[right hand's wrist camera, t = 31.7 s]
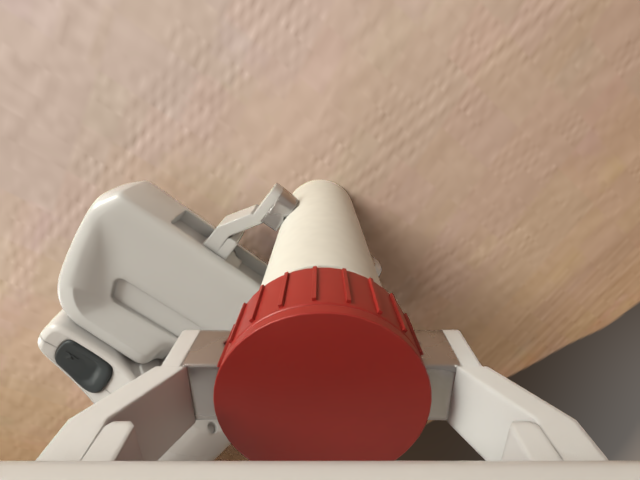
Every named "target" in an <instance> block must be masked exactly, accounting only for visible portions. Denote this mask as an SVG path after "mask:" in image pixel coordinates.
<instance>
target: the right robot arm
mask: <svg viewBox="0 0 640 480" xmlns="http://www.w3.org/2000/svg"><path fill="white" fill-rule="evenodd" d="M230 332H231V330H184V331H182V333H181V334H180V336H179V338H178V339H177V341H176V342H175V344H174V346H173V347H172V349H171V351H170V352H169V354H168V355H167V357H166V359H165V360H164V362H163V364H162V365H161V366H156V367H154V368H152V369H151V370H149V371H147V372H146V373H144V374H142V375H141V376H139V377H137V378H136V379H134V380H133V381H131V382H129V383H128V384H126V385H124V386H123V387H121V388H119V389H118V390H116V391H114V392H113V393H111V394H110V395H108V396H106V397H105V398H103V399H101V400H100V401H98V402H96V403H95V404H93V405H91V406H90V407H88V408H87V409H85V410H83V411H82V412H80V413H78V414H77V415H75V416H73V417H72V418H70V419H68V421H67V422H66V423H65V424H64V426H63V427H62V428H61V429H60V431H59V432H58V433H57V434H56V436H55V437H54V438H53V439H52V441H51V442H50V443H49V444H48V446H47V447H46V448H45V449H44V451H43V452H42V453H41V454H40V456H39V457H38V458H37V459H36V460H35V461H0V480H640V461H609V460H608V459H607V458H606V456H605V455H604V454H603V453H602V451H601V450H600V449H599V448H598V446H597V445H596V444H595V443H594V442H593V440H592V439H591V438H590V437H589V435H588V434H587V433H586V432H585V430H584V429H583V428H582V427H581V425H580V424H579V423H578V422H577V421H576V420H575V419H573V418H572V417H570V416H569V415H567V414H565V413H564V412H562V411H560V410H559V409H557V408H555V407H554V406H552V405H550V404H549V403H547V402H545V401H544V400H542V399H540V398H539V397H537V396H535V395H534V394H532V393H531V392H529V391H527V390H526V389H524V388H522V387H521V386H519V385H517V384H516V383H514V382H512V381H511V380H509V379H507V378H506V377H504V376H502V375H501V374H499V373H498V372H496V371H494V370H493V369H491V368H489V367H488V366H482V365H481V364H480V362H479V360H478V359H477V357H476V356H475V354H474V352H473V351H472V349H471V348H470V346H469V345H468V343H467V341H466V340H465V338H464V337H463V335H462V333H461V332H460V331H459V330H457V329H455V330H434V331H414V332H415V335H416V337H417V339H418V342H419V344H420V346H421V349H422V351H423V353H424V355H421V358H422V360H423V362H424V365H425V367H426V370H427V373H428V375H429V378H430V383H431V389H432V402H431V409H430V414H429V417H428V420H447V422H448V423H449V424H450V425H451V426H452V427H453V428H454V429H455V430H456V431H457V432H458V433H459V434H460V435H461V436H462V437H463V438H464V439H465V440H466V441H467V442H468V443H469V444H470V445H471V446H472V447H473V448H474V449H475V450H476V451H477V452H478V453H479V454H480V455H481V456H482V457H483V458H484V459H485V460H486V461H158V460H159V459H160V458H161V457H162V456H163V455H164V454H165V453H166V452H167V451H168V450H169V449H170V448H171V447H172V446H173V445H174V444H175V443H176V442H177V441H178V440H179V439H180V438H181V437H182V436H183V435H184V433H185V432H186V431H187V430H188V429H189V428H190V427H191V426H192V425H193V424H194V423H195V422H196V420H217V417H216V413H215V409H214V401H213V394H214V384H215V380H216V376H217V373H218V371H219V367H217V365H218V362H219V360H220V357H221V355H222V352H223V350H224V347H225V345H226V342H227V340H228V337H229V335H230Z"/></svg>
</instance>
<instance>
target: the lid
mask: <svg viewBox="0 0 640 480" xmlns="http://www.w3.org/2000/svg"><path fill="white" fill-rule="evenodd" d="M421 355H424V353H423V351H422V349H421V346H420V344H419V342H418V339H417V337H416V335H415V332H414V330H413V327H412V325H411V323H410V320H409V318H408V316H407V313H405V314H403V312H402V310H401V308H400V306H399V305H398V304H397V302H396V299H395V297H394V295H393V294H392V293H391V294H389V293H388V292H387V291H386V290H385V289H384V288H382V287H381V286H379V285H378V284H377V283H375V282H374V281H373V279H372V278H371V277H369V279H368V278H366V277H364V276H362V275H359V274H356V273H354V272H350V271H347V270H346V268H342V269H336V268H317V266H313V268H309V269H302V270H298V271H294V272H291V273H289V272H285V273H284V275H283V276H280V277H278V278H276V279H275V280H273V281H271V282H269V283H268V284H266V285H265V286H264V285H261V286H260V289H259V291H258V292H256V293H255V294H254V295H253V296H252V298H251V299H250V300H249V301H248V303H247V304H246V303H244V304H243V305H242V308H241V310H240V313H239V315H238V318H237V320H236V323H235V324H234V325H233V327H232V330H231V332H230V335H229V337H228V340H227V342H226V345H225V347H224V350H223V352H222V355H221V357H220V360H219V362H218V365H217V367H219V371H218V373H217V376H216V380H215V384H214V394H213V401H214V409H215V413H216V417H217V420H218V423H219V425H220V427H221V429H222V431H223V433H224V434H225V436H226V437H227V439H228V440H229V442H230V443H231V444H232V445H233V446H234V447H235V448H236V449H237V450H238V451H239V452H240V453H241V454H242V455H243V456H245V457H246V458H247V459H249V460H250V461H395V460H396V459H398V458H399V457H400V456H401V455H402V454H404V453H405V452H406V451H407V450H408V449H409V448H410V447H411V446H412V445H413V444H414V443H415V441H416V440H417V439H418V437H419V436H420V434H421V433H422V431H423V429H424V427H425V425H426V423H427V420H428V417H429V414H430V409H431V402H432V389H431V383H430V378H429V375H428V373H427V370H426V367H425V365H424V362H423V360H422V358H421Z"/></svg>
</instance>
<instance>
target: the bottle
mask: <svg viewBox="0 0 640 480" xmlns="http://www.w3.org/2000/svg"><path fill="white" fill-rule="evenodd" d="M292 195H293V196H295V197H296V198H297V199H298V201H297V205H296V207H295V208H294V210H293V211H292V212H291V213H290V214H289V215H288V216H286V217H285V218H284V221H283V223H282V225H281V226H280V230H279V233H278V236H277V239H276V242H275V245H274V248H273V251H272V254H271V257H270V260H269V263H268V266H267V269H266V272H265V275H264V278H263V281H262V284H261V285H264V286H265V285H266V284H268V283H269V282H271V281H273V280H275V279H276V278H278V277H280V276H283V275H284V273H285V272H289V273H291V272H294V271H298V270H302V269H309V268H313V266H317V268H336V269H342V268H346V270H347V271H350V272H354V273H356V274H359V275H362V276H364V277H366V278H368V279H369V277H371V278H372V279H373V281H374V282H375V283H377V284H378V285H379V286H381V287H382V285H381V283H380V280H379V277H378V274H377V271H376V268H375V266H374V263H373V260H372V257H371V254H370V252H369V249H368V246H367V243H366V240H365V237H364V235H363V232H362V229H361V226H360V223H359V221H358V218H357V215H356V212H355V209H354V206H353V204H352V201H351V198H350V197H349V195H348V193H347V192H346V191H345V190H344V189H343V188H342V187H341V186H339V185H338V184H336V183H334V182H332V181H328V180H312V181H309V182H307V183H304V184H303V185H301V186H300V187H298V188H297V189H296V190H295V191H294V193H293V194H292Z"/></svg>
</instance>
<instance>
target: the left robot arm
mask: <svg viewBox="0 0 640 480" xmlns="http://www.w3.org/2000/svg"><path fill="white" fill-rule="evenodd" d="M297 201H298V199H297V198H296V197H295V196H293V195H292V194H291V193H290V192H288V191H287V190H286V189H285V188H284V187H282V186H281V185H280V184H278V183H276V184H275V185H274V186H273V188H272V189H271V190H270V192H269V193H268V194H267V196H266V197H265V198H264V199H263V201H262V202H261V203H260V205H259V206H258V205H254V206H251V207H248V208H246V209H243V210H240V211H238V212H235V213H232V214H230V215H227V216H226V217H225V218H224V219H223V220H222V221H221V222H220V224H219V225H218V226H217V227H214V226H213V225H211V224H210V223H209V222H207V221H206V220H204V219H203V218H201V217H200V216H199V215H197V214H196V213H194V212H193V211H192V210H190V209H189V208H187V207H186V206H184V205H183V204H182V203H180V202H179V201H177V200H176V199H175V198H173V197H172V196H170V195H169V194H167V193H166V192H165V191H163V190H162V189H160V188H159V187H158V186H156V185H155V184H153V183H152V182H150V181H138V182H132V183H128V184H124V185H121V186H118V187H115V188H113V189H111V190H109V191H107V192H105V193H104V194H102V195H101V196H100V197H98V198H97V199H96V200H95V202H94V203H93V204H92V206H91V207H90V209H89V210H88V212H87V214H86V215H85V217H84V219H83V221H82V223H81V225H80V227H79V229H78V230H77V232H76V235H75V237H74V239H73V241H72V243H71V246H70V248H69V250H68V253H67V255H66V258H65V261H64V263H63V266H62V269H61V272H60V275H59V279H58V289H57V290H58V298H59V301H60V304H61V306H62V308H63V309H62V310H61V311H60V312H59V313H58V314H57V315H56V316H55V317H54V318H53V319H52V320H51V322H50V323H49V324H48V325H47V326H46V327H45V328H44V329H43V331H42V332H41V334H40V335H39V338H38V346H39V348H40V350H41V351H42V353H43V354H44V355H45V356H46V357H47V358H48V359H49V360H50V361H52V362H53V363H54V364H55V365H56V366H57V367H58V368H60V369H61V370H62V371H63V372H64V373H65V374H66V375H67V376H68V377H69V378H70V379H71V380H73V381H74V382H75V383H76V384H77V385H78V386H79V387H80V388H81V390H82V391H83V392H84V393H85V394H86V395H87V396H88V397H89V398H90V400H91V401H92V402H93V403H94V404H95V403H96V402H98V401H100V400H101V399H103V398H105V397H106V396H108V395H110V394H111V393H113V392H114V391H116V390H118V389H119V388H121V387H123V386H124V385H126V384H128V383H129V382H131V381H133V380H134V379H136V378H137V377H139V376H141V375H142V374H144V373H146V372H147V371H149V370H151V369H152V368H154V367H156V366H161V365H162V364H163V362H164V360H165V359H166V357H167V355H168V354H169V352H170V351H171V349H172V347H173V346H174V344H175V342H176V341H177V339H178V338H179V336H180V334H181V333H182V331H184V330H232V327H233V325H234V324H235V323H236V320H237V318H238V315H239V313H240V310H241V308H242V305H243V304H244V303H246V304H247V303H248V301H249V300H250V299H251V298H252V296H253V295H254V294H255V293H256V292H258V291H259V289H260V286H261V284H262V281H263V278H264V275H265V272H266V269H267V266H268V264H267V263H265V262H264V261H262V260H261V259H259V258H258V257H257V256H255V255H254V254H252V253H251V252H250V251H248V250H247V249H245V248H244V247H242V246H241V245H240V244H238V242H239V240H240V239H241V237H242V235H243V234H244V232H245V230H246V229H249V228H251V227H254V226H257V225H259V224H262V223H265V224H266V225H267V226H269V227H270V228H272V229H273V230H275V231H277V229H278V228H279V227H280V226H281V225H282V223H283V221H284V218H285V217H286V216H288V215H289V214H290V213H291V212H292V211H293V210H294V208H295V207H296V205H297ZM371 257H372V260H373V263H374V266H375V268H376V271H377V274H378V277H379V275H380V273H381V272H382V268H381V266H380V263H379V261H378V260H376V259H375V258H374V257H373V256H371ZM230 444H231V443H230V442H229V440H228V439H227V437H226V436H225V434H224V433H223V431H222V429H221V427H220V425H219V423H218V420H196V422H195V423H194V424H193V425H192V426H191V427H190V428H189V429H188V430H187V431H186V432H185V433H184V435H183V436H182V437H181V438H180V439H179V440H178V441H177V442H176V443H175V444H174V445H173V446H172V447H171V448H170V449H169V450H168V451H167V452H166V453H165V454H164V455H163V456H162V457H161V458H160V459H159V460H158V461H214V460H215V459H216V458H217V457H218V456H219V455H220V454H221V453H222V452H223V451H224V450H225V449H226V448H227V447H228V446H229V445H230Z"/></svg>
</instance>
